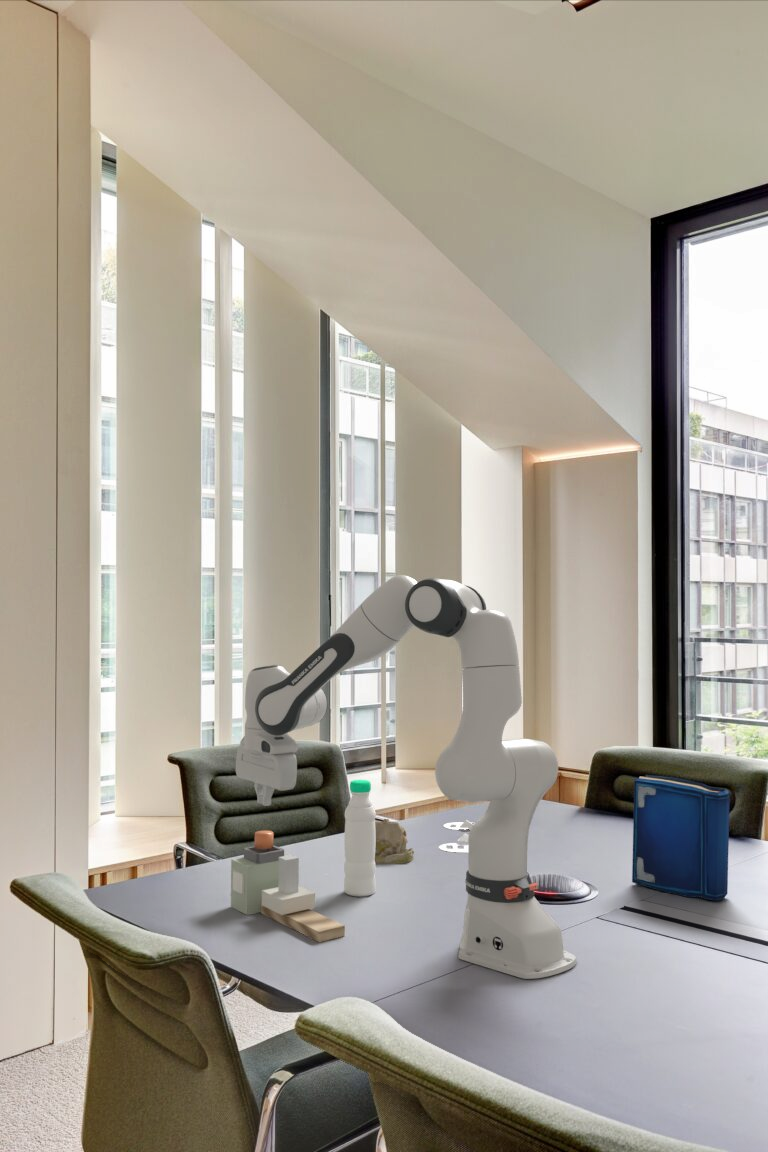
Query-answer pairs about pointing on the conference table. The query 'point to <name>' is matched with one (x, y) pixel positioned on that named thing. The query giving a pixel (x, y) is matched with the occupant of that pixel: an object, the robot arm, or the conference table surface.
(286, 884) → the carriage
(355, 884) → the water bottle
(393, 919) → the conference table surface
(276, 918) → the block
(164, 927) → the conference table surface
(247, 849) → the end cabinet
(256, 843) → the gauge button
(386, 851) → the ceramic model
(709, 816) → the book
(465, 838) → the cable organizer
